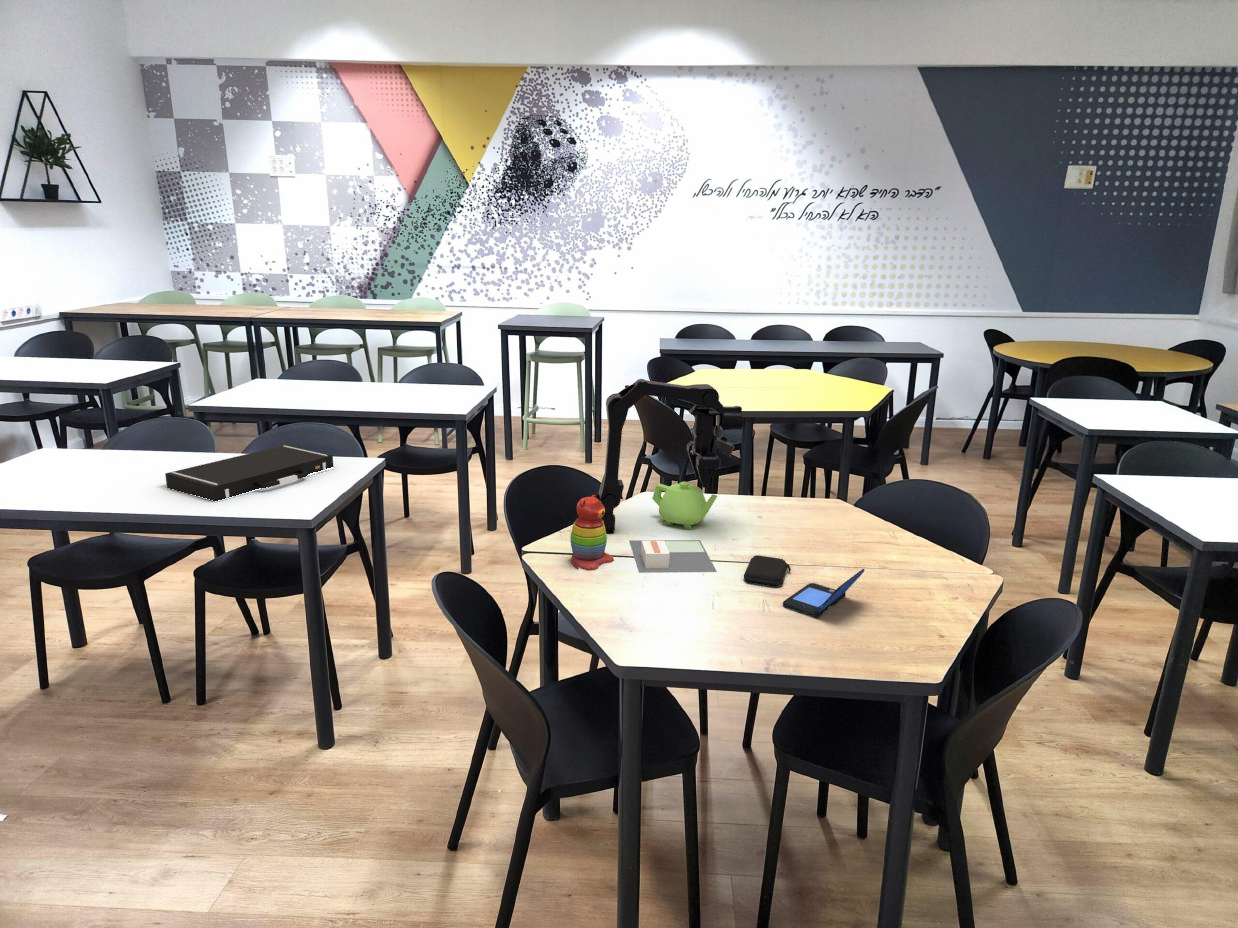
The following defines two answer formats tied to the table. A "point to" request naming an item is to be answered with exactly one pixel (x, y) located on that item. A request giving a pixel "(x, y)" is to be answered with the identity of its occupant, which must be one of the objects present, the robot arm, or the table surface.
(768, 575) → the carrying case or bag
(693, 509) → the teapot
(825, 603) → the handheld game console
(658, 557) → the box
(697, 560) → the mat
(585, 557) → the stacking bear
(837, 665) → the table surface
